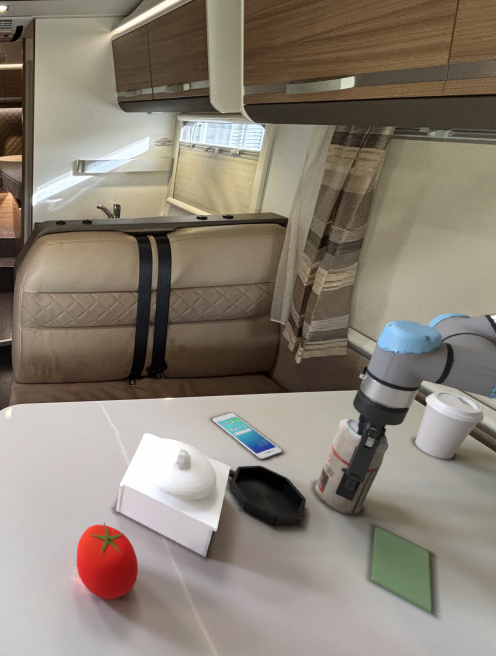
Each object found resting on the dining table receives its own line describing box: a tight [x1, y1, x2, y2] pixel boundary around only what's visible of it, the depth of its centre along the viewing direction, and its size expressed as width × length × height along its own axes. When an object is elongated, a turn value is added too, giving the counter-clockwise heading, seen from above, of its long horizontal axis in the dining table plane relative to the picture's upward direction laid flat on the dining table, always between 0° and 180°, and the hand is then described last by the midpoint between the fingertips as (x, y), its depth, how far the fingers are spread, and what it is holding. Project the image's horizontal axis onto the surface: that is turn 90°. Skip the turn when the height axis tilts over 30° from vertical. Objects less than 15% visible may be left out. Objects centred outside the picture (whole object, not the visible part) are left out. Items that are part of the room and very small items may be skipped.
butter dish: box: [115, 432, 231, 558], centre depth 89 cm, size 18×18×16 cm
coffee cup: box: [414, 390, 484, 460], centre depth 103 cm, size 10×10×15 cm
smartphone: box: [212, 412, 283, 461], centre depth 110 cm, size 8×1×15 cm
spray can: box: [314, 418, 389, 516], centre depth 89 cm, size 8×8×20 cm
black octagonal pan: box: [228, 465, 307, 527], centre depth 95 cm, size 22×13×3 cm, turn 47°
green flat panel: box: [370, 526, 434, 615], centre depth 79 cm, size 8×14×1 cm, turn 137°
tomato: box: [76, 522, 139, 600], centre depth 76 cm, size 10×11×11 cm
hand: (346, 482), depth 90 cm, fingers closed on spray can, 8 cm apart
